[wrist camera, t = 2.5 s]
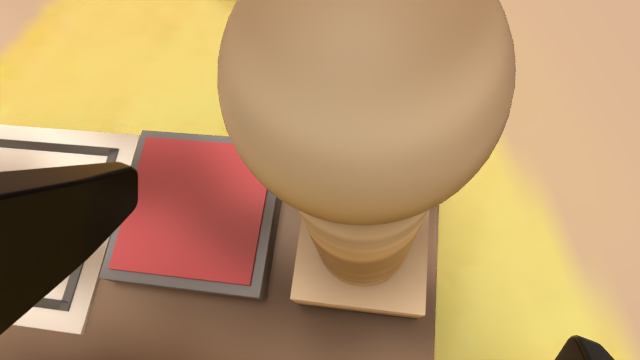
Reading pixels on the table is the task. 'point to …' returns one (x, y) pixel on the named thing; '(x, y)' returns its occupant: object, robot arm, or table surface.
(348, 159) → the stamp
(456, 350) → the table surface
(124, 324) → the board
